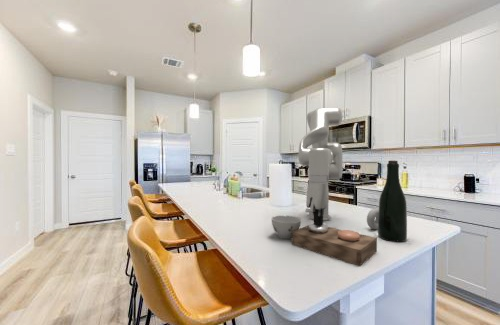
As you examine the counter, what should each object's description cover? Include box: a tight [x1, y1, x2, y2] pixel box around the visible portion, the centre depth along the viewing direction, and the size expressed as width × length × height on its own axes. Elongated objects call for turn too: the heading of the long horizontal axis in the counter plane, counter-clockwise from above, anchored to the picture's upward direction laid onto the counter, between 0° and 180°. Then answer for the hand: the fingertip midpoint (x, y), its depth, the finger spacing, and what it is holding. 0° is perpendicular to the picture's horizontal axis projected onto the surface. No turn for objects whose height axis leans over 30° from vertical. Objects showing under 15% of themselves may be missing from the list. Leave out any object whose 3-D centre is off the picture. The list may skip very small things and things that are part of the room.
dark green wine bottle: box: [377, 160, 408, 243], centre depth 98 cm, size 10×10×33 cm
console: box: [291, 224, 378, 267], centre depth 88 cm, size 26×16×5 cm, turn 45°
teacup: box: [271, 215, 302, 240], centre depth 101 cm, size 15×12×8 cm
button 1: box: [308, 223, 329, 235], centre depth 92 cm, size 7×7×6 cm
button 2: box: [338, 229, 361, 243], centre depth 84 cm, size 7×7×6 cm
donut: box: [366, 207, 379, 230], centre depth 110 cm, size 10×4×10 cm, turn 117°
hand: (318, 225), depth 92 cm, fingers closed
